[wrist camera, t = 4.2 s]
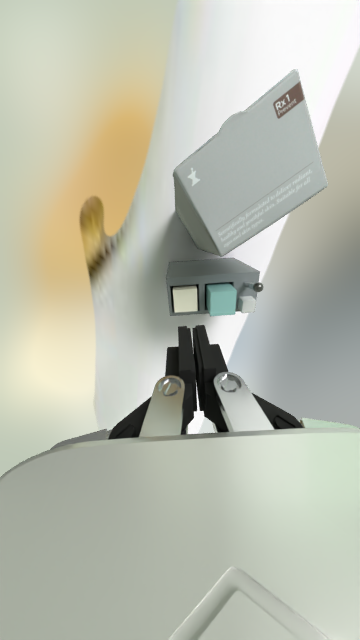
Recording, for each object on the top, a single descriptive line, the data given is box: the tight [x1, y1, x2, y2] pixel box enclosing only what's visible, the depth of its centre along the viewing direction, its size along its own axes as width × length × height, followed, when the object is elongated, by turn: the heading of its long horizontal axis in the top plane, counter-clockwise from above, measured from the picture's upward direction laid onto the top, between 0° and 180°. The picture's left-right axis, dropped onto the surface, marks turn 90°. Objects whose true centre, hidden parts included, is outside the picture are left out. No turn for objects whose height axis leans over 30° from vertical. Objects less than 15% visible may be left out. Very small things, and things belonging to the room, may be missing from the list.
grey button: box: [238, 296, 256, 313], centre depth 20 cm, size 1×1×1 cm
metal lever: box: [244, 282, 263, 292], centre depth 18 cm, size 1×1×4 cm
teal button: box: [206, 282, 237, 316], centre depth 20 cm, size 3×3×3 cm
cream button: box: [173, 284, 198, 313], centre depth 22 cm, size 3×3×3 cm
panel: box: [166, 258, 260, 316], centre depth 25 cm, size 4×10×10 cm, turn 94°
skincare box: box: [173, 69, 328, 256], centre depth 18 cm, size 8×7×16 cm
